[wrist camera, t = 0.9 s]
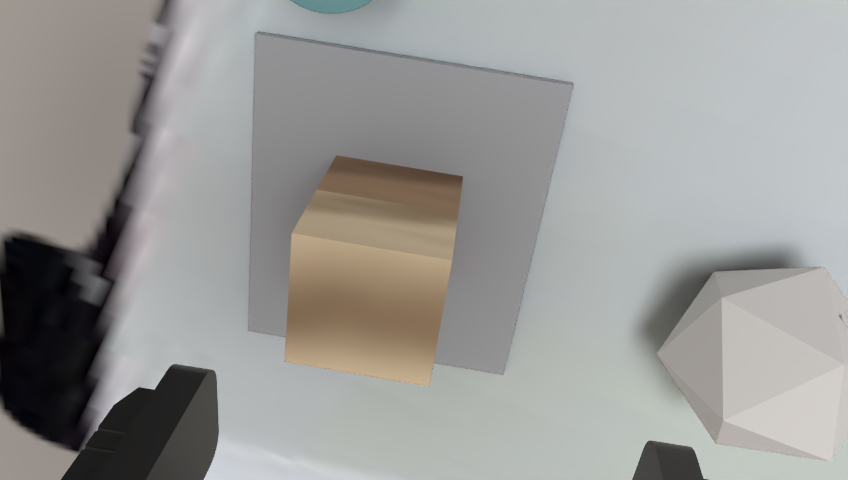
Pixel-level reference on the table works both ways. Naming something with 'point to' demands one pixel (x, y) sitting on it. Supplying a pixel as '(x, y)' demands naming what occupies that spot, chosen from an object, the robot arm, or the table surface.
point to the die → (766, 360)
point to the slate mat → (410, 147)
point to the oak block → (368, 286)
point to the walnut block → (393, 184)
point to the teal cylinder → (331, 5)
